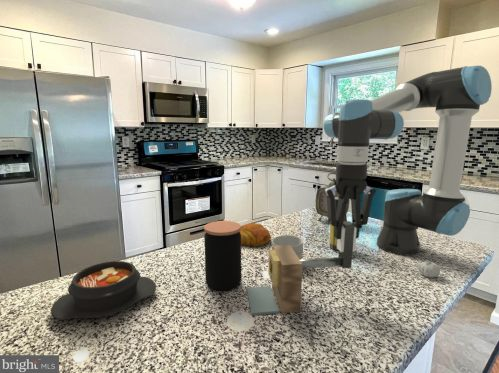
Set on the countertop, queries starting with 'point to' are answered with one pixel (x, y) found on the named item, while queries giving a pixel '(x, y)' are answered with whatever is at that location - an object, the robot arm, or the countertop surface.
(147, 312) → the countertop surface
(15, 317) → the countertop surface
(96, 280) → the casserole
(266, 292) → the slate mat
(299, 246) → the teacup
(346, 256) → the shaft
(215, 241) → the coffee jar
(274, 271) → the plate
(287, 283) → the bearing block
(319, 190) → the tabletop clock
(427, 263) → the garlic
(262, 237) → the croissant
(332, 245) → the sauce bottle
